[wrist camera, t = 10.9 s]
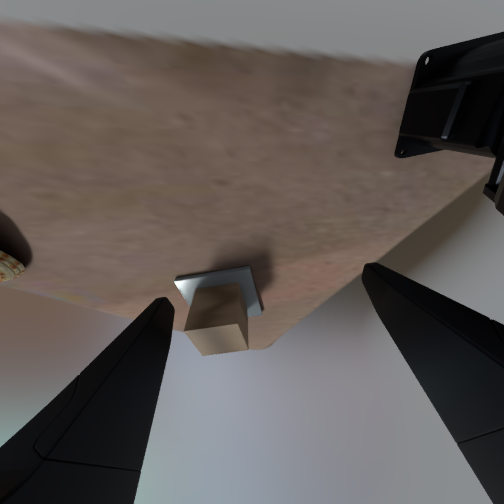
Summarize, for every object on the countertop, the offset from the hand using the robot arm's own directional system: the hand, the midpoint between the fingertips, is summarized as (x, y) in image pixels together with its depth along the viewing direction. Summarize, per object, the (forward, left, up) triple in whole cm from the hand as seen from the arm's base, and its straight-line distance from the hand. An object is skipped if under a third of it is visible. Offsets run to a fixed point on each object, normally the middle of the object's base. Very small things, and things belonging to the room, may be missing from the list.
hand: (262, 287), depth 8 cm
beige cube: (+7, +14, -11) cm, 19 cm away
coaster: (+7, +14, -12) cm, 20 cm away
